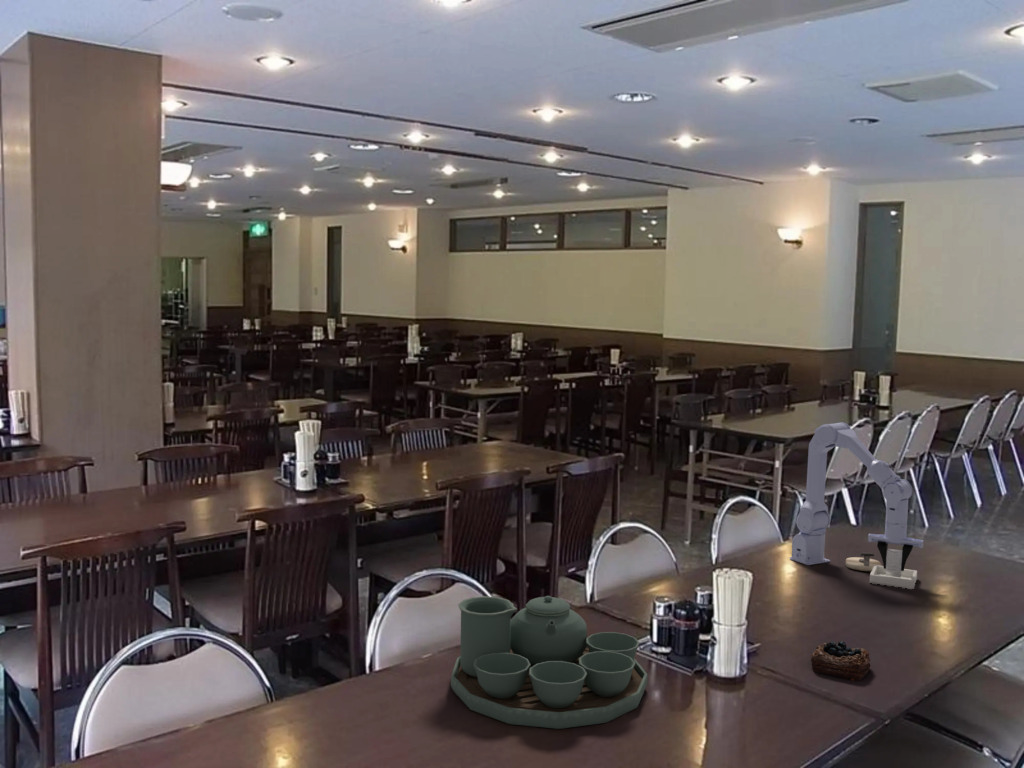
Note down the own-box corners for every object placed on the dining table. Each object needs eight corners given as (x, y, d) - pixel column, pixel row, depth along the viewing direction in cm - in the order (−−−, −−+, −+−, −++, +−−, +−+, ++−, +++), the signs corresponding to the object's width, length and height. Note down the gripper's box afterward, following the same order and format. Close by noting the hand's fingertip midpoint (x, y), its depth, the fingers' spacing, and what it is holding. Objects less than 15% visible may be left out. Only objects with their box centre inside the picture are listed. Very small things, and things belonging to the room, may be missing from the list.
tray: (869, 583, 262) (869, 574, 261) (874, 573, 272) (874, 564, 272) (913, 589, 256) (914, 581, 256) (916, 579, 267) (917, 570, 266)
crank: (842, 561, 283) (842, 544, 283) (875, 562, 282) (876, 546, 282) (849, 570, 273) (850, 553, 273) (884, 572, 272) (885, 554, 272)
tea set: (499, 748, 162) (500, 657, 161) (426, 665, 199) (426, 591, 197) (687, 710, 178) (689, 627, 177) (587, 640, 215) (589, 571, 213)
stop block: (885, 575, 263) (886, 551, 263) (886, 572, 267) (888, 548, 267) (900, 577, 262) (901, 553, 261) (901, 574, 265) (903, 550, 265)
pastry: (863, 684, 192) (864, 657, 191) (805, 672, 198) (806, 645, 197) (873, 667, 201) (874, 641, 200) (817, 656, 207) (818, 630, 207)
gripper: (924, 522, 263) (922, 569, 264) (870, 516, 269) (868, 562, 271) (923, 527, 257) (920, 575, 258) (868, 521, 263) (865, 567, 264)
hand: (893, 569), depth 264 cm, fingers closed on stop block, 4 cm apart
